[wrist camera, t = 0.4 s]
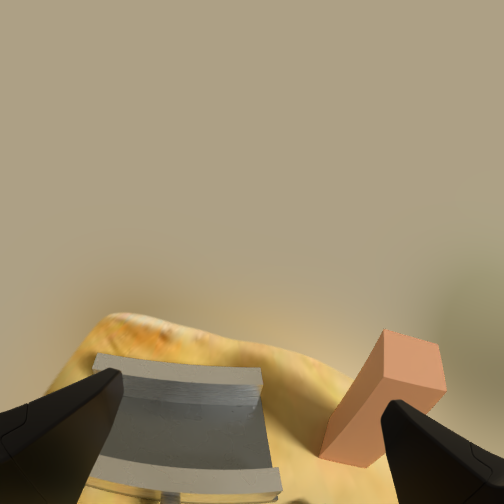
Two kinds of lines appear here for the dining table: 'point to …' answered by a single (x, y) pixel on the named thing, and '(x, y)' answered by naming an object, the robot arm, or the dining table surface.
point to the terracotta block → (383, 397)
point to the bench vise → (187, 435)
